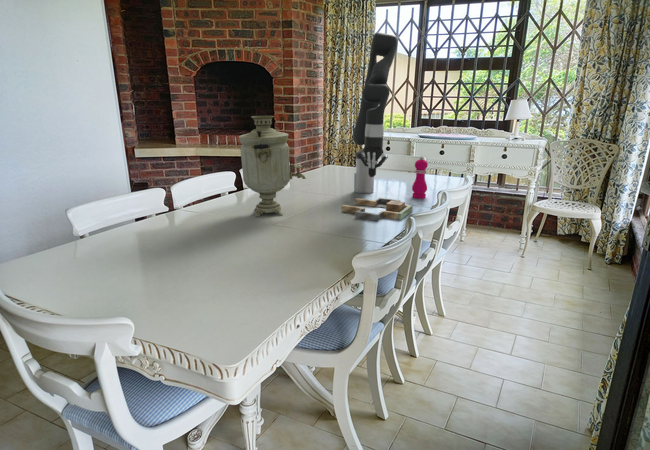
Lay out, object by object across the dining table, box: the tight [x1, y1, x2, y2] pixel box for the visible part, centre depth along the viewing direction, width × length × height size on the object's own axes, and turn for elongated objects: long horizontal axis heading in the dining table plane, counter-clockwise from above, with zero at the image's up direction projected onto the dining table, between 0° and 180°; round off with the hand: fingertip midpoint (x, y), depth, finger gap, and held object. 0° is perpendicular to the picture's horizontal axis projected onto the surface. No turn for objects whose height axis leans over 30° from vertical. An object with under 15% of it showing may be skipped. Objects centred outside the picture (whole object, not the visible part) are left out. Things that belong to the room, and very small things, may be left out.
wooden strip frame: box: [341, 197, 413, 222], centre depth 182 cm, size 26×27×2 cm
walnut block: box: [385, 200, 406, 213], centre depth 178 cm, size 6×6×5 cm
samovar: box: [238, 115, 307, 218], centre depth 173 cm, size 30×26×40 cm
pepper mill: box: [411, 155, 429, 200], centre depth 203 cm, size 7×7×20 cm
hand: (372, 176), depth 179 cm, fingers closed
